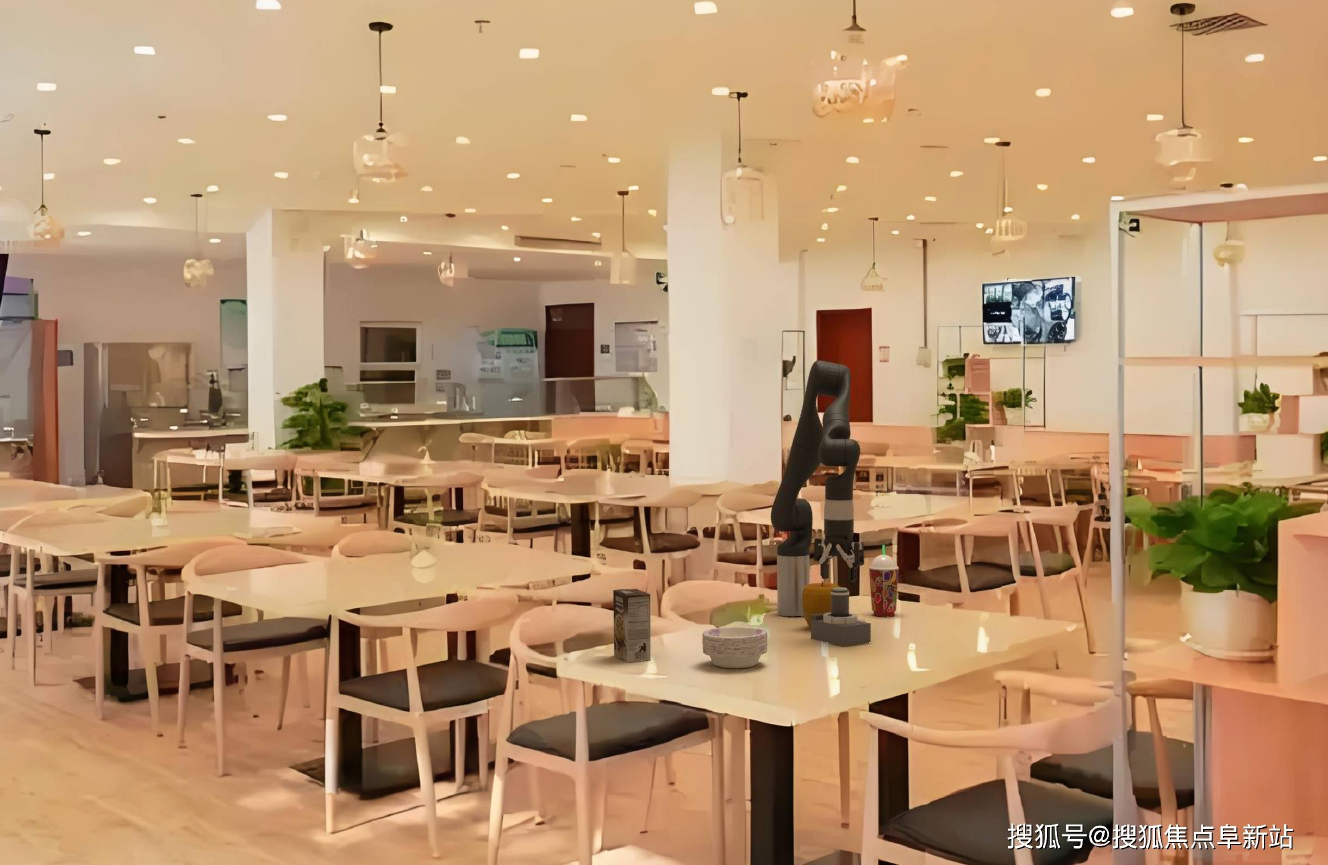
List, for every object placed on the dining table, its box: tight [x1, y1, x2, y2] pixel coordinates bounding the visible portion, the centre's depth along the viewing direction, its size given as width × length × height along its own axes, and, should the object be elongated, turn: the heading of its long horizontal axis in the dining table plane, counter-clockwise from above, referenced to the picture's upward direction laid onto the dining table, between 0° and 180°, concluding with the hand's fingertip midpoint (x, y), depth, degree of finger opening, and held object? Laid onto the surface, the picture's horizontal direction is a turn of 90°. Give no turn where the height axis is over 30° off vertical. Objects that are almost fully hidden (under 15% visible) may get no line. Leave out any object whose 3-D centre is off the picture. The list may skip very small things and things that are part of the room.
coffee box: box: [612, 588, 652, 663], centre depth 305 cm, size 9×6×16 cm
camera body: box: [810, 612, 872, 648], centre depth 324 cm, size 13×9×7 cm
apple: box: [802, 580, 840, 629], centre depth 341 cm, size 11×11×13 cm
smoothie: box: [868, 544, 900, 617], centre depth 361 cm, size 8×8×20 cm
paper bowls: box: [702, 626, 768, 669], centre depth 296 cm, size 15×15×8 cm
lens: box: [831, 586, 850, 617], centre depth 324 cm, size 5×5×8 cm
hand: (838, 580), depth 324 cm, fingers open, 8 cm apart
